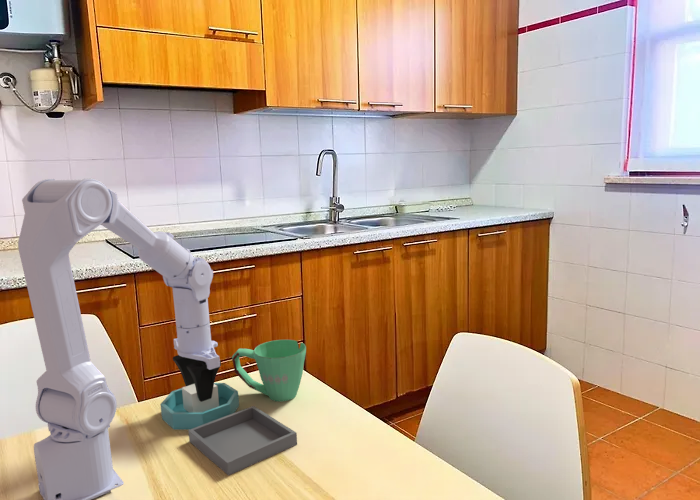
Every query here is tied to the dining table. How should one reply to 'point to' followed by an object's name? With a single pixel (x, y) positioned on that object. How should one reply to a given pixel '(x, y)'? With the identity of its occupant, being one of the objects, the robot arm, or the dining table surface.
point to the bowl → (187, 420)
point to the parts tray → (242, 439)
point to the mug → (274, 368)
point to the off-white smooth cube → (193, 402)
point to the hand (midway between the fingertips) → (199, 395)
